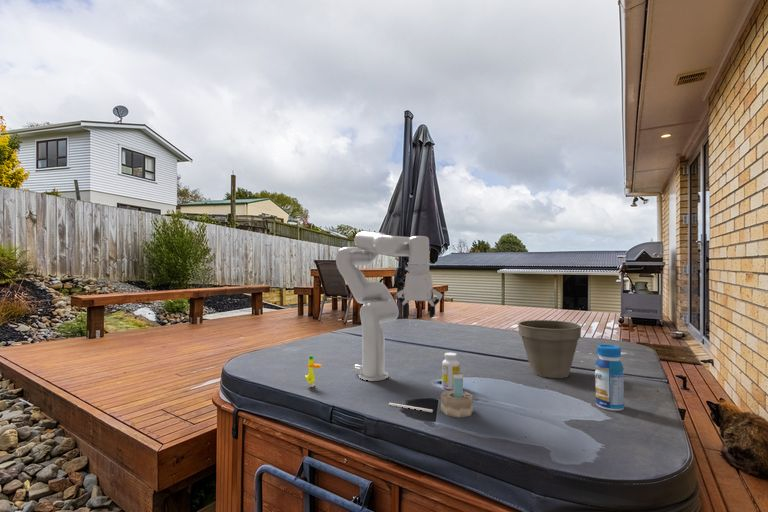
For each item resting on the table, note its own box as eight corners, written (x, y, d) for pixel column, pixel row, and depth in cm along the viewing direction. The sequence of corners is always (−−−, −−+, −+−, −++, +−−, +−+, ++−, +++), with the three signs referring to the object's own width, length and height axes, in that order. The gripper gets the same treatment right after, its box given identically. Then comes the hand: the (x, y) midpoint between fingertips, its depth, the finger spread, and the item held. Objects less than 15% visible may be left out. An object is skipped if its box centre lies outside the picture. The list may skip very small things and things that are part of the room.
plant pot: (517, 378, 154) (516, 326, 154) (519, 363, 177) (519, 318, 177) (585, 385, 144) (584, 330, 145) (578, 369, 167) (577, 321, 168)
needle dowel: (452, 412, 118) (452, 374, 118) (454, 408, 121) (454, 372, 121) (462, 413, 117) (462, 375, 117) (463, 410, 120) (463, 373, 120)
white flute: (388, 405, 124) (388, 403, 124) (389, 404, 125) (389, 402, 125) (432, 412, 118) (432, 410, 118) (432, 411, 119) (432, 409, 119)
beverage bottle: (625, 413, 117) (624, 350, 118) (594, 408, 122) (593, 347, 122) (624, 405, 124) (623, 345, 125) (595, 400, 129) (594, 342, 129)
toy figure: (322, 386, 143) (322, 354, 144) (319, 389, 140) (319, 357, 140) (306, 385, 145) (306, 354, 145) (302, 388, 141) (302, 356, 141)
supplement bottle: (460, 385, 144) (460, 352, 144) (458, 391, 138) (458, 356, 138) (443, 383, 146) (443, 351, 147) (440, 389, 140) (440, 355, 140)
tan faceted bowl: (438, 414, 117) (438, 398, 117) (445, 403, 125) (445, 388, 126) (469, 419, 113) (468, 402, 113) (474, 408, 122) (474, 392, 122)
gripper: (393, 269, 136) (393, 316, 135) (439, 269, 129) (439, 319, 129) (400, 269, 143) (400, 313, 142) (444, 269, 136) (444, 316, 135)
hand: (419, 316), depth 135 cm, fingers open, 9 cm apart
